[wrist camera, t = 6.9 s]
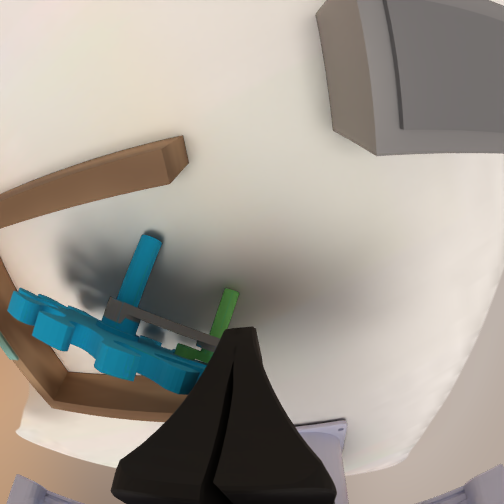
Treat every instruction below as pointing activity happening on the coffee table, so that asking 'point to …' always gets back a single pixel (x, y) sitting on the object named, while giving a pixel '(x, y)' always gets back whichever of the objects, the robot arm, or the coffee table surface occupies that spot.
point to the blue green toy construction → (126, 329)
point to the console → (415, 74)
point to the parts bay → (20, 334)
